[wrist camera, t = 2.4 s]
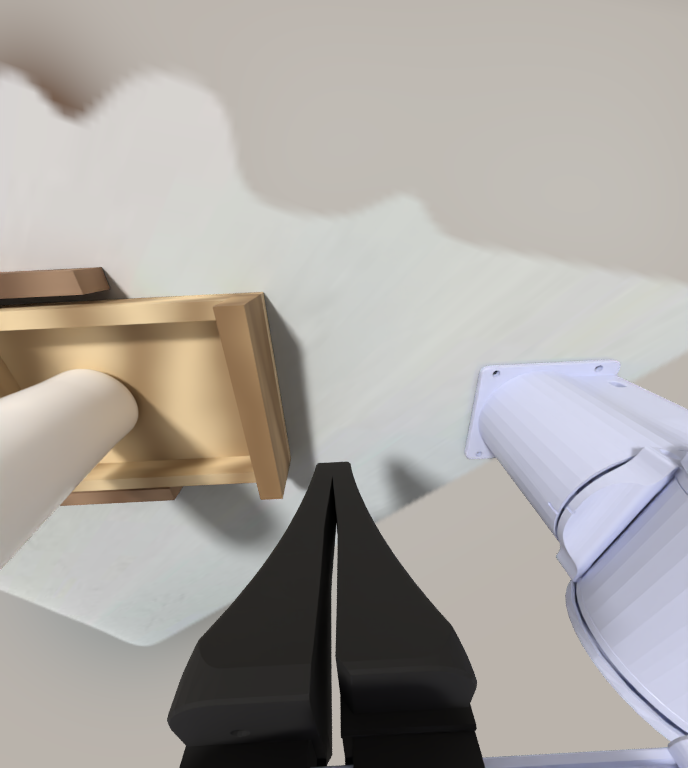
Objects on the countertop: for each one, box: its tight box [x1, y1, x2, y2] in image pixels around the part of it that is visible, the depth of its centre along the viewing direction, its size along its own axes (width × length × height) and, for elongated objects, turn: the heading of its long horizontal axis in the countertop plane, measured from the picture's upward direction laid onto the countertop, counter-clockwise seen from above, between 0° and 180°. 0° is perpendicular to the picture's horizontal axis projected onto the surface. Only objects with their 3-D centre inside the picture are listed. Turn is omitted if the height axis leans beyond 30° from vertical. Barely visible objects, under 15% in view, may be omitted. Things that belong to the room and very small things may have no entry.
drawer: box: [0, 292, 291, 500], centre depth 18 cm, size 18×13×4 cm
